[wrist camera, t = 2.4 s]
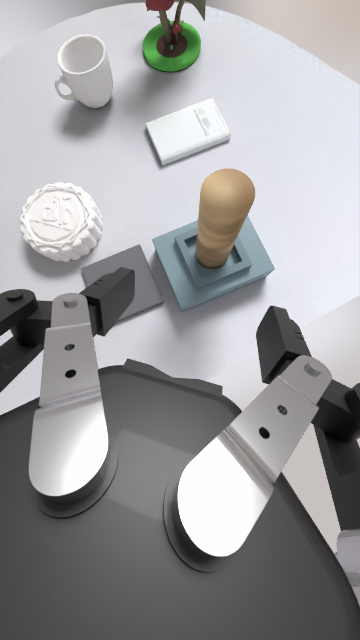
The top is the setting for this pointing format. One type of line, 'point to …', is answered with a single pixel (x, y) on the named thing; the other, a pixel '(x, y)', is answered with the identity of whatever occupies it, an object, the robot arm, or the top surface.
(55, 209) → the mooncake
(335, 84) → the top surface
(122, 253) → the grey rubber coaster
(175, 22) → the mushroom figurine
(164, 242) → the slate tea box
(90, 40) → the teacup
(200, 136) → the external hard drive
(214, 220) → the oak stopper
